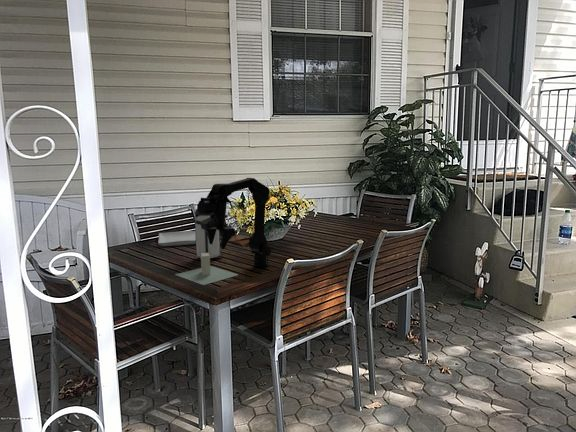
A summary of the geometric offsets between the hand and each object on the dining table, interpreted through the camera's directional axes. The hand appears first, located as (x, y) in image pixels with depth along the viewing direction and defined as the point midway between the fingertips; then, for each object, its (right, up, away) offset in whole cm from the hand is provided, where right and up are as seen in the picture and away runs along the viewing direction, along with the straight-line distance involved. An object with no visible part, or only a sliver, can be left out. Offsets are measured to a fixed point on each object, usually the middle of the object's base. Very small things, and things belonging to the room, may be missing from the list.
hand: (216, 246), depth 207 cm
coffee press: (-9, -9, +36) cm, 38 cm away
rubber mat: (-5, -14, +6) cm, 16 cm away
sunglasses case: (+3, -3, +69) cm, 70 cm away
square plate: (-33, -2, +75) cm, 82 cm away
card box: (-6, -13, +8) cm, 16 cm away
